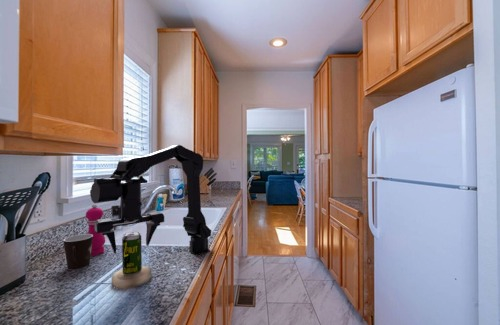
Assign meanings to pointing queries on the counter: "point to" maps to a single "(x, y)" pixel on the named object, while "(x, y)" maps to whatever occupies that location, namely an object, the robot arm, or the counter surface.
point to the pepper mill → (98, 238)
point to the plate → (131, 279)
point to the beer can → (131, 254)
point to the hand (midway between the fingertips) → (131, 248)
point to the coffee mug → (78, 250)
